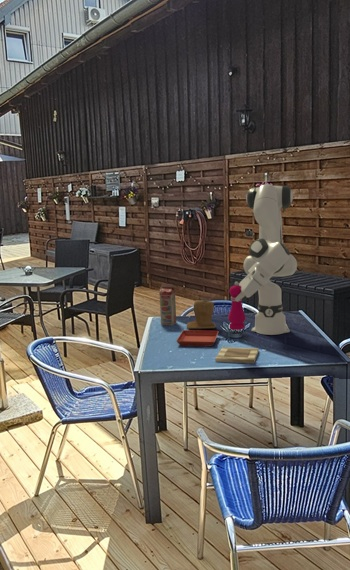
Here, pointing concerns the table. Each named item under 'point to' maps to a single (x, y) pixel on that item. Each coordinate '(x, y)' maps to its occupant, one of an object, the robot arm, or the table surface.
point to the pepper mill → (236, 309)
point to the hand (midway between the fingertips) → (235, 298)
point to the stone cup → (202, 315)
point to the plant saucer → (197, 338)
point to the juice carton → (167, 304)
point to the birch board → (237, 355)
